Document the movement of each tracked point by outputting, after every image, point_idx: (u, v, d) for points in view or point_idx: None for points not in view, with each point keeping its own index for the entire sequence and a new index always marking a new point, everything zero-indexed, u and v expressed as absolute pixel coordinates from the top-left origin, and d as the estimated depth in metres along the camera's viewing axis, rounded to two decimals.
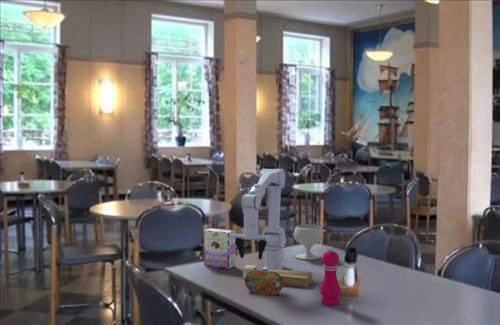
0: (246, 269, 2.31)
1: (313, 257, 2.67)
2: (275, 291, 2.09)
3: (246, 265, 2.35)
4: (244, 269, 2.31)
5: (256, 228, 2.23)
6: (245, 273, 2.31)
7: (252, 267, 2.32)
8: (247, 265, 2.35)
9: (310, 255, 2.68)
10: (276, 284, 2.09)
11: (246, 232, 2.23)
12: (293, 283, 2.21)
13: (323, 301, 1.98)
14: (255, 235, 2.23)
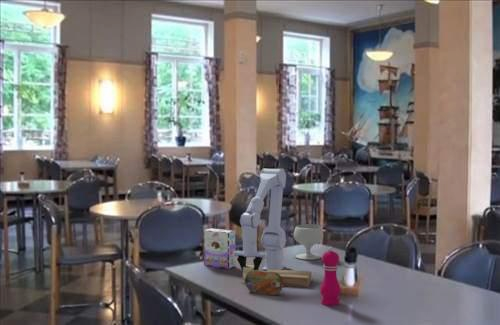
0: (246, 269, 2.31)
1: (313, 257, 2.67)
2: (275, 291, 2.09)
3: (246, 265, 2.35)
4: (244, 269, 2.31)
5: (255, 246, 2.30)
6: (245, 273, 2.31)
7: (252, 267, 2.32)
8: (247, 265, 2.35)
9: (310, 255, 2.68)
10: (276, 284, 2.09)
11: (245, 249, 2.30)
12: (295, 283, 2.22)
13: (323, 301, 1.98)
14: (254, 252, 2.30)
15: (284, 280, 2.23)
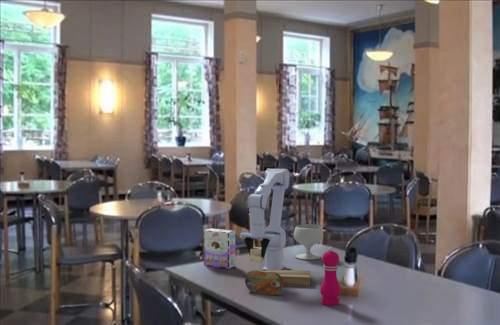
0: (253, 251, 2.29)
1: (313, 257, 2.67)
2: (275, 291, 2.09)
3: (253, 247, 2.33)
4: (251, 251, 2.30)
5: (263, 227, 2.29)
6: (252, 255, 2.29)
7: (259, 249, 2.30)
8: (254, 247, 2.33)
9: (310, 255, 2.68)
10: (276, 284, 2.09)
11: (252, 231, 2.28)
12: (296, 283, 2.22)
13: (323, 301, 1.98)
14: (261, 234, 2.28)
15: (285, 280, 2.22)
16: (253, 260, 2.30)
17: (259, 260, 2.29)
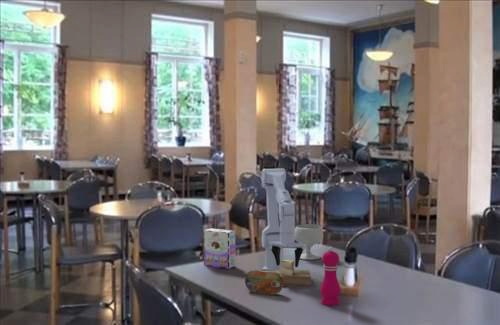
0: (284, 264, 2.25)
1: (313, 257, 2.67)
2: (275, 291, 2.09)
3: (283, 260, 2.29)
4: (282, 264, 2.25)
5: (293, 236, 2.25)
6: (283, 268, 2.25)
7: (290, 261, 2.26)
8: (284, 260, 2.29)
9: (310, 255, 2.68)
10: (276, 284, 2.09)
11: (283, 240, 2.24)
12: (298, 283, 2.22)
13: (323, 301, 1.98)
14: (292, 243, 2.24)
15: (287, 280, 2.22)
16: (283, 273, 2.25)
17: (290, 273, 2.24)
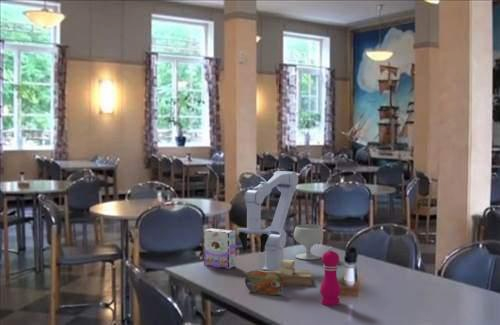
0: (284, 263, 2.25)
1: (313, 257, 2.67)
2: (275, 291, 2.09)
3: None
4: (282, 263, 2.25)
5: (259, 222, 2.34)
6: (283, 268, 2.25)
7: (290, 262, 2.26)
8: None
9: (310, 255, 2.68)
10: (276, 284, 2.09)
11: (249, 226, 2.34)
12: (298, 283, 2.23)
13: (323, 301, 1.98)
14: (257, 229, 2.34)
15: (287, 280, 2.22)
16: (283, 273, 2.25)
17: (289, 273, 2.24)
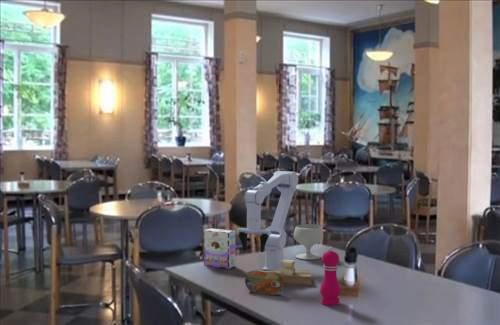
0: (284, 264, 2.25)
1: (313, 257, 2.67)
2: (275, 291, 2.09)
3: (284, 260, 2.29)
4: (282, 264, 2.25)
5: (259, 222, 2.34)
6: (283, 268, 2.25)
7: (290, 262, 2.26)
8: (285, 260, 2.29)
9: (310, 255, 2.68)
10: (276, 284, 2.09)
11: (249, 226, 2.34)
12: (298, 283, 2.22)
13: (323, 301, 1.98)
14: (257, 229, 2.34)
15: (287, 280, 2.22)
16: (283, 273, 2.25)
17: (289, 273, 2.24)
